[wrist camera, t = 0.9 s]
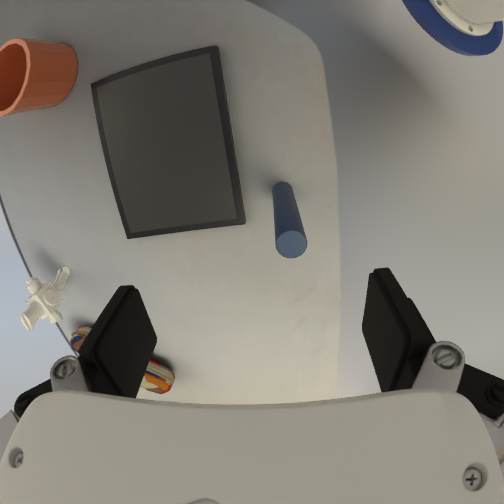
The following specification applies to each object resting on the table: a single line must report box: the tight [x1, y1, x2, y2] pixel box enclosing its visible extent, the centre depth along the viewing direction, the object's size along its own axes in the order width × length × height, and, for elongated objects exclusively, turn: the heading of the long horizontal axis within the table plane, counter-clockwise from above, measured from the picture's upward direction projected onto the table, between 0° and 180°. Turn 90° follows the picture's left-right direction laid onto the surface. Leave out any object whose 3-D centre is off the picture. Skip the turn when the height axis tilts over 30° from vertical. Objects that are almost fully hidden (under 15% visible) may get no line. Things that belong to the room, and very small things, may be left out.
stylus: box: [273, 182, 307, 258], centre depth 26 cm, size 2×2×13 cm
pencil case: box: [70, 326, 175, 394], centre depth 44 cm, size 11×20×5 cm, turn 47°
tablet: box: [91, 45, 246, 239], centre depth 29 cm, size 20×15×1 cm
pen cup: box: [0, 38, 78, 116], centre depth 21 cm, size 9×9×9 cm
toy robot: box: [21, 266, 70, 331], centre depth 34 cm, size 4×8×12 cm, turn 26°
